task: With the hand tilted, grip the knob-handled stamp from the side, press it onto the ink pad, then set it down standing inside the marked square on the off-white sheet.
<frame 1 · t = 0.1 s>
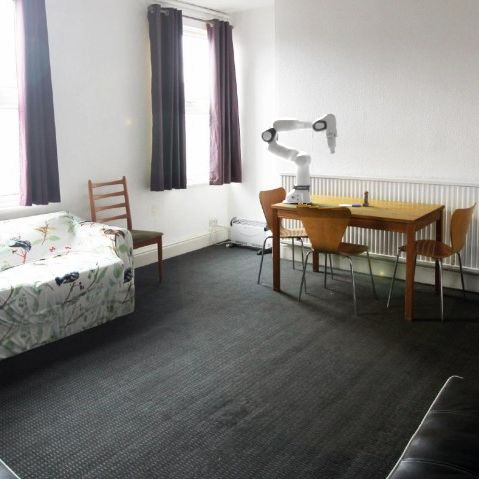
hand: (332, 153, 442), 39 cm above the table, tool pointing down, fingers open, 8 cm apart
ink pad: (356, 206, 433), on the table
stamp: (365, 206, 433), on the table
print sheet: (345, 205, 436), on the table
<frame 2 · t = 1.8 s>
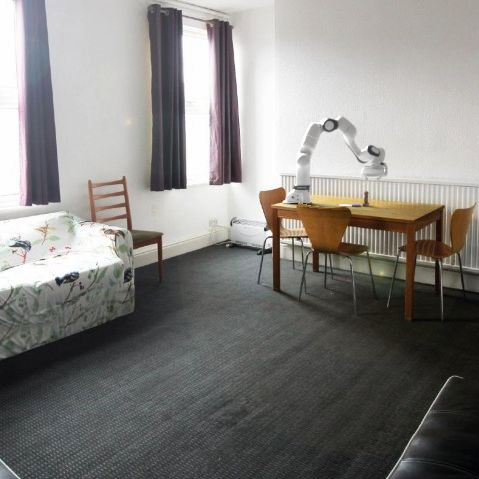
hand: (371, 180, 439), 18 cm above the table, tool tilted 45°, fingers open, 8 cm apart
nothing on the table moved.
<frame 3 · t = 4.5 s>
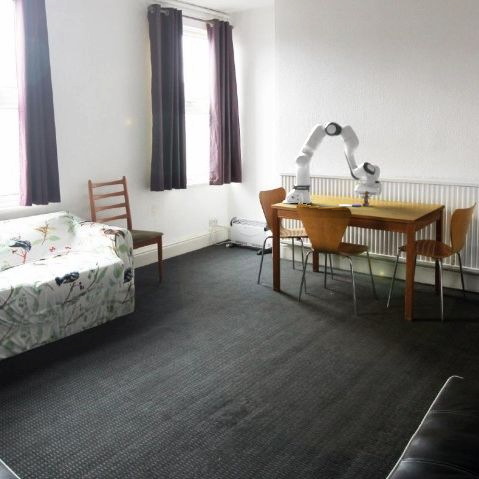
hand: (365, 198, 431), 6 cm above the table, tool tilted 45°, fingers closed on stamp, 3 cm apart
stamp: (365, 205, 433), on the table, touching gripper
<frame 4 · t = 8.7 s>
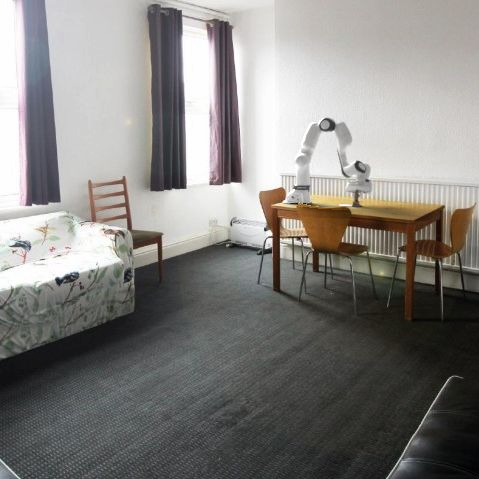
hand: (356, 196, 431), 7 cm above the table, tool tilted 45°, fingers closed on stamp, 3 cm apart
stamp: (356, 204, 433), point 1 cm above the table, touching gripper, ink pad
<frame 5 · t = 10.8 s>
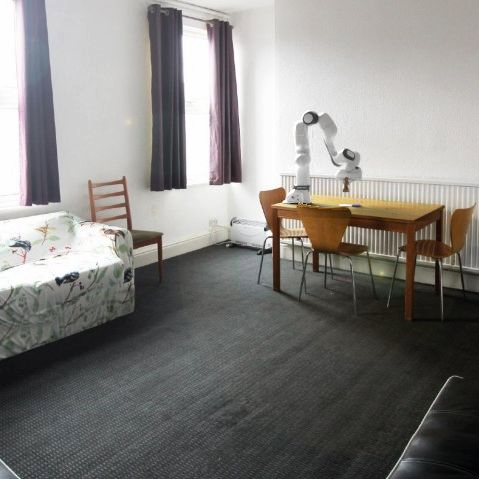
hand: (345, 184, 432), 16 cm above the table, tool tilted 45°, fingers closed on stamp, 3 cm apart
stamp: (346, 191, 434), point 10 cm above the table, touching gripper
when the fingers open (7 cm above the table, at t = 12.6 s): stamp stays where it is, resting on print sheet.
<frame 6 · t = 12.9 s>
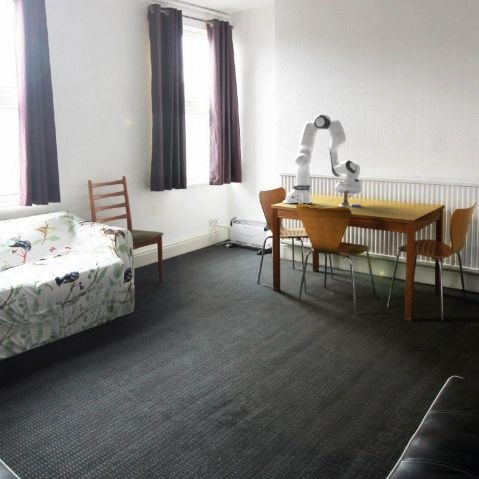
hand: (345, 196, 434), 7 cm above the table, tool tilted 45°, fingers open, 6 cm apart
stamp: (345, 205, 436), resting on print sheet
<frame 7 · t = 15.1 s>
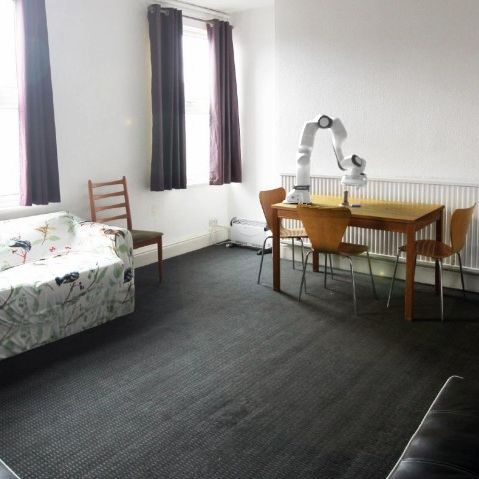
hand: (351, 189, 444), 11 cm above the table, tool tilted 45°, fingers open, 8 cm apart
nothing on the table moved.
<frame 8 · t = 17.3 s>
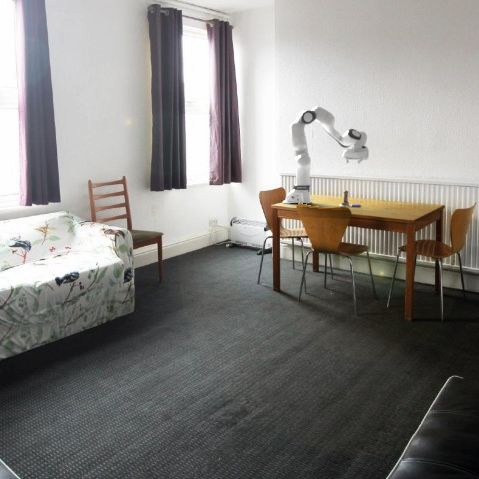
hand: (352, 162, 441), 31 cm above the table, tool tilted 45°, fingers open, 8 cm apart
nothing on the table moved.
at the end: stamp 0.1 cm off-centre on the print sheet, point 0.3 cm above the print sheet's base; stamp tilted 0°; the gripper is holding nothing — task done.
